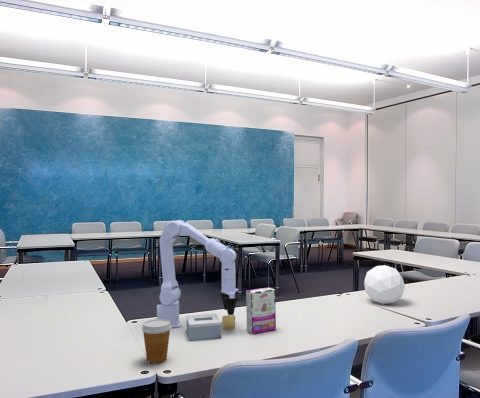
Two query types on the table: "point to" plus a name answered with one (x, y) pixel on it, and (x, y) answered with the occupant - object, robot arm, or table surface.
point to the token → (228, 322)
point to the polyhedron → (384, 284)
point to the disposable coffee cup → (156, 339)
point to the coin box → (203, 327)
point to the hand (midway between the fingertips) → (228, 312)
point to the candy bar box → (260, 310)
